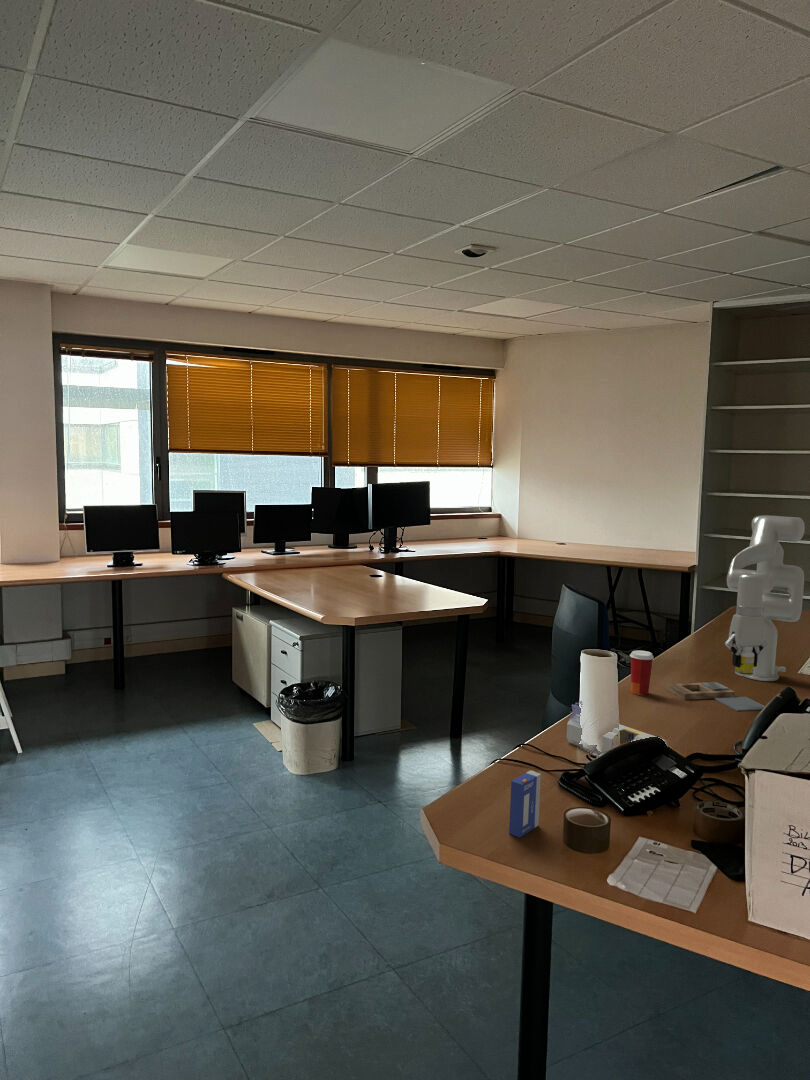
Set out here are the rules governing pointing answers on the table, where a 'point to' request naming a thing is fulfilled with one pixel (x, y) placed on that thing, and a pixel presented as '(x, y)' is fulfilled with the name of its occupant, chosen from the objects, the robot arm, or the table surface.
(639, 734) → the diorama
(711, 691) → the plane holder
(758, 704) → the rubber mat
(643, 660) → the paper cup
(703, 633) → the table surface
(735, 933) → the table surface
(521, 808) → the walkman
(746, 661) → the supplement bottle
